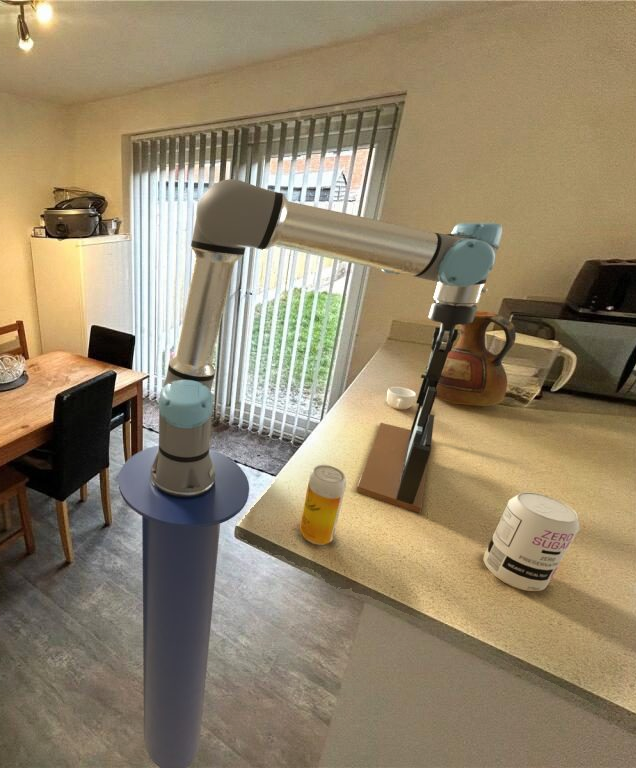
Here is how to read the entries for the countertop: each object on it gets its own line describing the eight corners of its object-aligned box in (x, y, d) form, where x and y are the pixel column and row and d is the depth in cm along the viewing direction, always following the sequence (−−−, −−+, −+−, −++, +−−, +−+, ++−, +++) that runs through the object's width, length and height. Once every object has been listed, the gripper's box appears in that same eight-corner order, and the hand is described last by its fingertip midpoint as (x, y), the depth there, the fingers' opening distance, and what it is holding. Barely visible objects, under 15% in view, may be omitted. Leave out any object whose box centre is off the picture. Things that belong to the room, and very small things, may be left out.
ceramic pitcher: (439, 384, 144) (465, 303, 132) (509, 404, 128) (546, 314, 116) (412, 396, 135) (437, 310, 123) (484, 420, 119) (521, 324, 107)
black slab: (402, 474, 91) (427, 395, 83) (408, 444, 102) (430, 372, 94) (408, 475, 90) (434, 396, 82) (414, 445, 101) (437, 373, 93)
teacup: (385, 399, 133) (389, 384, 131) (412, 404, 129) (416, 390, 127) (382, 410, 126) (386, 395, 124) (411, 416, 122) (415, 401, 119)
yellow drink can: (300, 520, 82) (312, 460, 76) (332, 530, 79) (347, 468, 73) (297, 540, 77) (309, 477, 71) (331, 551, 74) (347, 487, 68)
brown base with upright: (356, 491, 90) (371, 434, 84) (379, 426, 116) (391, 379, 110) (419, 513, 83) (440, 452, 77) (428, 439, 110) (444, 389, 104)
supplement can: (501, 550, 74) (532, 485, 68) (556, 586, 66) (596, 517, 60) (470, 561, 71) (500, 495, 65) (524, 600, 64) (563, 530, 58)
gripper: (480, 310, 75) (442, 419, 84) (477, 299, 84) (443, 397, 93) (431, 306, 79) (401, 410, 88) (433, 295, 88) (406, 390, 98)
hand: (423, 403), depth 91 cm, fingers closed
